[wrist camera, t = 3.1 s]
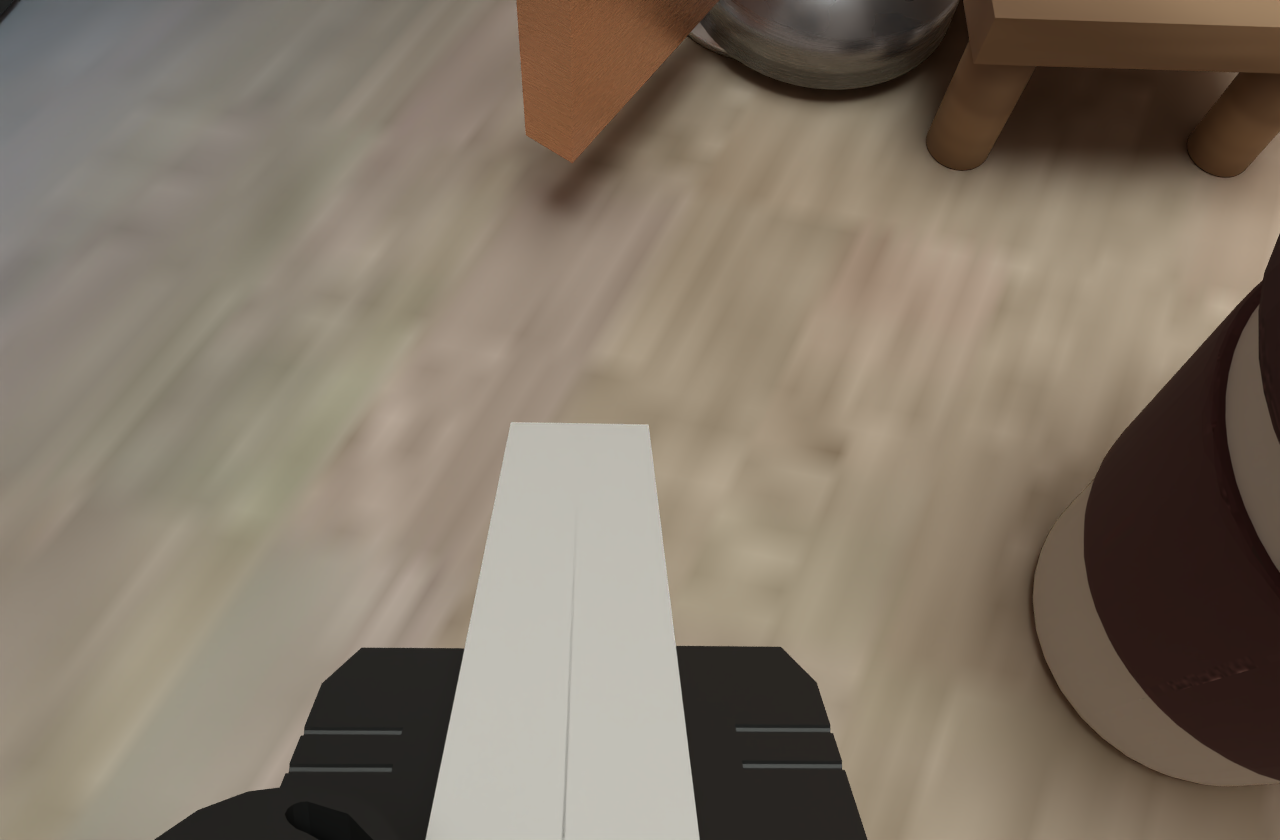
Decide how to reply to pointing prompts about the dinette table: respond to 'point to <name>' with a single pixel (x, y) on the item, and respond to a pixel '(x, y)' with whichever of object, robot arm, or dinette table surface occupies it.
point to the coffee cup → (1181, 567)
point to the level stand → (1116, 38)
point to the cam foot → (736, 20)
